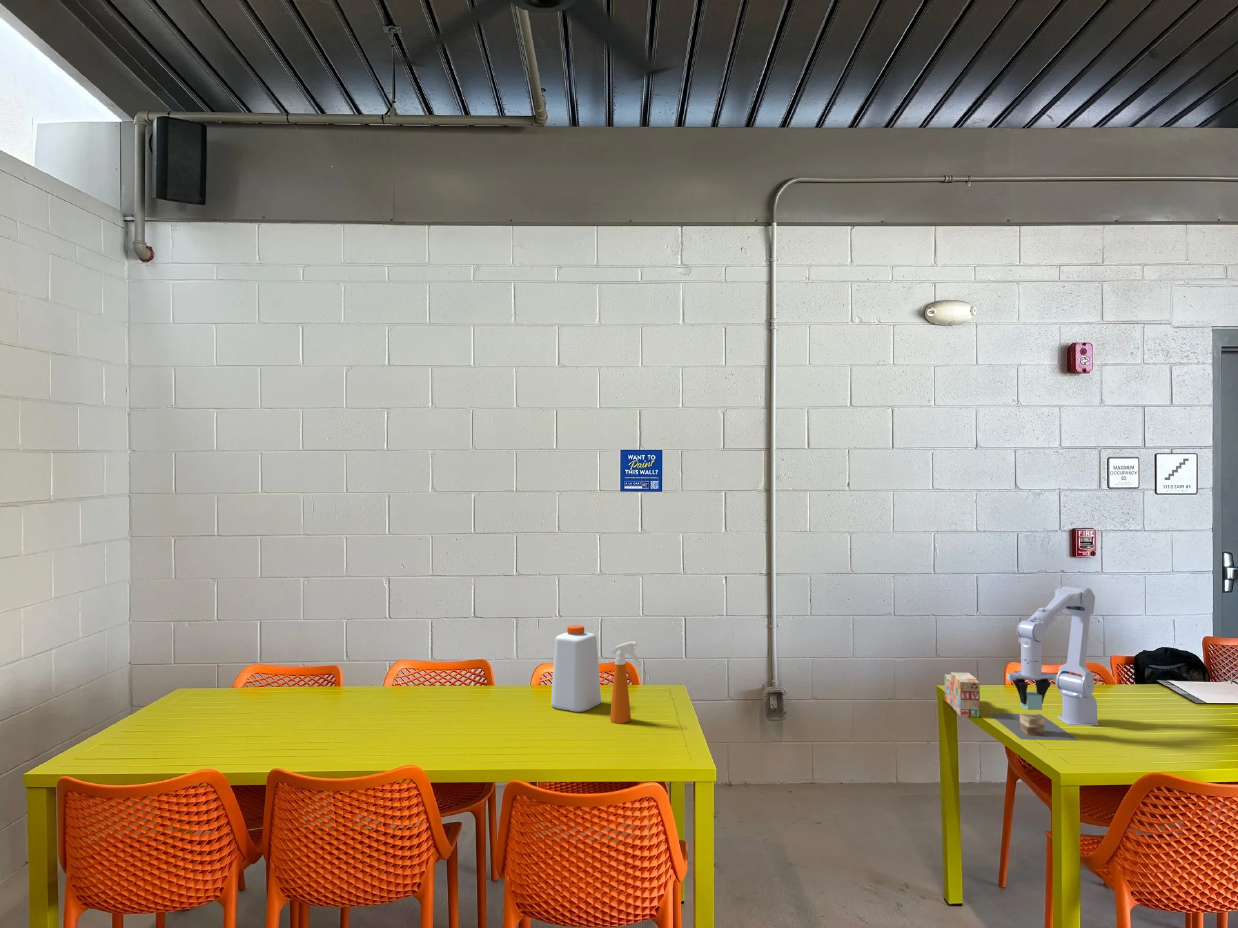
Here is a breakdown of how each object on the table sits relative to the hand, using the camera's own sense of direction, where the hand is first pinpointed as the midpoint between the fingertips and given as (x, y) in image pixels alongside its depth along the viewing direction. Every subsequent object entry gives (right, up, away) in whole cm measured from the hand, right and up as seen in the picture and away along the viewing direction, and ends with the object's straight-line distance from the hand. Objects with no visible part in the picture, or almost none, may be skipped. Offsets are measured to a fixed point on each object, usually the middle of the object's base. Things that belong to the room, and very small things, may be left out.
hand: (1031, 703), depth 245 cm
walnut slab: (0, -9, 0) cm, 9 cm away
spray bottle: (-127, -11, +15) cm, 128 cm away
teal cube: (0, -2, 0) cm, 2 cm away
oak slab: (0, -7, 0) cm, 7 cm away
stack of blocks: (-10, -10, +26) cm, 30 cm away
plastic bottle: (-145, -11, +32) cm, 149 cm away
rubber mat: (+3, -10, +6) cm, 12 cm away
